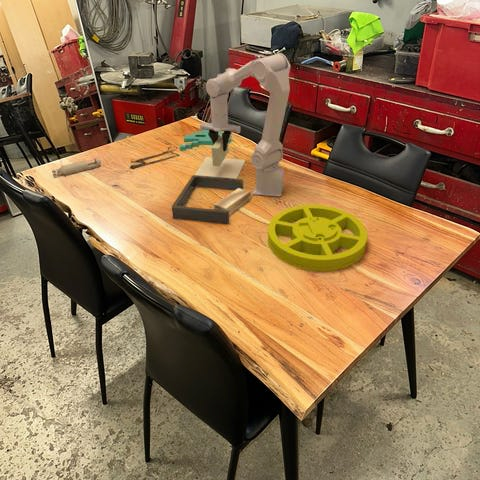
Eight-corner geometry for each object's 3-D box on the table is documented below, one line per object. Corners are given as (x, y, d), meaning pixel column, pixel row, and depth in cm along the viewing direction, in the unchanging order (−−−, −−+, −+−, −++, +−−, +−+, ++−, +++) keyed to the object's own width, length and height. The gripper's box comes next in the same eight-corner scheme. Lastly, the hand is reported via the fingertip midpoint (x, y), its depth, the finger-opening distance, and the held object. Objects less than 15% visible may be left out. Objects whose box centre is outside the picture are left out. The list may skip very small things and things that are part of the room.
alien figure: (227, 153, 178) (233, 134, 194) (227, 147, 176) (233, 129, 193) (180, 151, 180) (189, 133, 196) (179, 146, 178) (188, 128, 195)
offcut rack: (243, 189, 151) (243, 179, 149) (228, 224, 133) (227, 212, 131) (193, 185, 155) (192, 174, 152) (172, 218, 137) (171, 207, 135)
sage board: (228, 151, 164) (227, 134, 160) (219, 166, 155) (218, 148, 151) (222, 150, 165) (221, 133, 161) (212, 165, 156) (211, 147, 151)
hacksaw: (131, 170, 166) (130, 167, 165) (120, 161, 173) (120, 158, 172) (186, 154, 177) (186, 151, 176) (174, 146, 184) (174, 143, 183)
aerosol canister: (99, 163, 171) (95, 148, 167) (103, 167, 168) (99, 152, 164) (52, 175, 164) (47, 159, 160) (55, 180, 160) (50, 164, 156)
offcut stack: (252, 198, 147) (252, 189, 145) (225, 220, 136) (225, 210, 134) (239, 194, 149) (239, 185, 147) (211, 215, 139) (210, 205, 137)
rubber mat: (245, 160, 170) (245, 159, 170) (234, 184, 154) (234, 183, 154) (206, 157, 173) (206, 156, 173) (191, 181, 157) (191, 179, 157)
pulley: (363, 220, 134) (366, 206, 131) (366, 278, 112) (369, 262, 109) (274, 212, 139) (275, 199, 136) (260, 265, 117) (260, 250, 114)
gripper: (195, 115, 149) (198, 152, 157) (236, 118, 146) (237, 156, 154) (202, 109, 155) (204, 144, 163) (241, 111, 152) (242, 148, 159)
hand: (221, 149), depth 159 cm, fingers closed on sage board, 2 cm apart
